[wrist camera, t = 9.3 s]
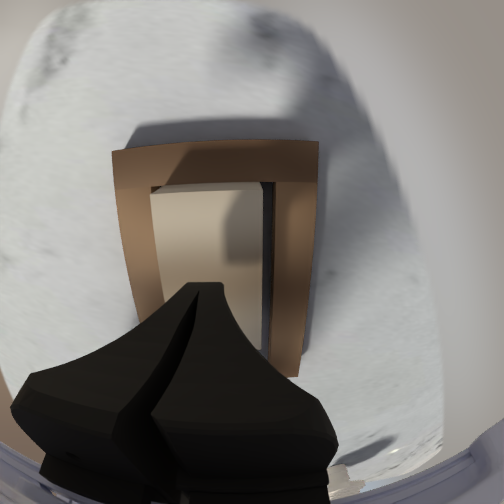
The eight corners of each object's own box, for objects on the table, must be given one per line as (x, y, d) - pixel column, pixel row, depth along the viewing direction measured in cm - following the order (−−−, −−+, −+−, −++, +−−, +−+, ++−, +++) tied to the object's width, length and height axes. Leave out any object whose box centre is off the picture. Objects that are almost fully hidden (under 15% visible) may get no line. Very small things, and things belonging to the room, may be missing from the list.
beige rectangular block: (257, 307, 17) (261, 349, 14) (186, 307, 17) (174, 349, 13) (257, 177, 14) (262, 189, 10) (173, 180, 14) (150, 194, 10)
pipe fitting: (336, 475, 31) (345, 514, 24) (303, 475, 29) (310, 518, 22) (365, 459, 29) (377, 500, 22) (333, 458, 27) (344, 506, 20)
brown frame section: (294, 362, 19) (297, 376, 18) (160, 362, 19) (156, 376, 17) (310, 141, 13) (318, 141, 12) (123, 149, 13) (111, 151, 12)
